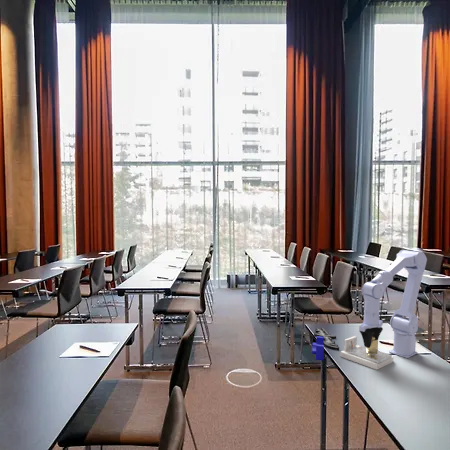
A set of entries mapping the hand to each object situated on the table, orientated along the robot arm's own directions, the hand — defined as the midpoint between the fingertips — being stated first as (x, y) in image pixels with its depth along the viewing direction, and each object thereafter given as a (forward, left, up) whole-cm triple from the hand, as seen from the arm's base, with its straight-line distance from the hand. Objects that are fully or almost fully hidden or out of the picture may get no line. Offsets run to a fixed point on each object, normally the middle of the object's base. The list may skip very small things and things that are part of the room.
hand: (370, 345), depth 152 cm
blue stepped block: (+12, -16, -6) cm, 21 cm away
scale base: (0, -2, -6) cm, 6 cm away
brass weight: (0, +1, -2) cm, 2 cm away
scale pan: (0, 0, -4) cm, 4 cm away
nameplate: (-7, -26, -7) cm, 27 cm away
